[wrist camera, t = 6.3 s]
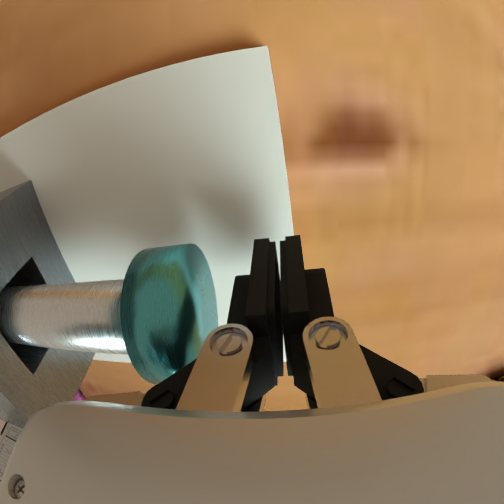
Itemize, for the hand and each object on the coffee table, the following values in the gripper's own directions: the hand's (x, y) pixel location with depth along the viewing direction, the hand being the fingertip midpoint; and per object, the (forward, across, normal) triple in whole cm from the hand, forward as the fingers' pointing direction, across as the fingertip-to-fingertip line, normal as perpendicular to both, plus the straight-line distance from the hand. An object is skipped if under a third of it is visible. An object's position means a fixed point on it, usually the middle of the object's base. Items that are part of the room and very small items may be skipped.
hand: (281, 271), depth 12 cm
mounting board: (+3, +12, 0) cm, 13 cm away
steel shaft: (0, +14, 0) cm, 14 cm away
